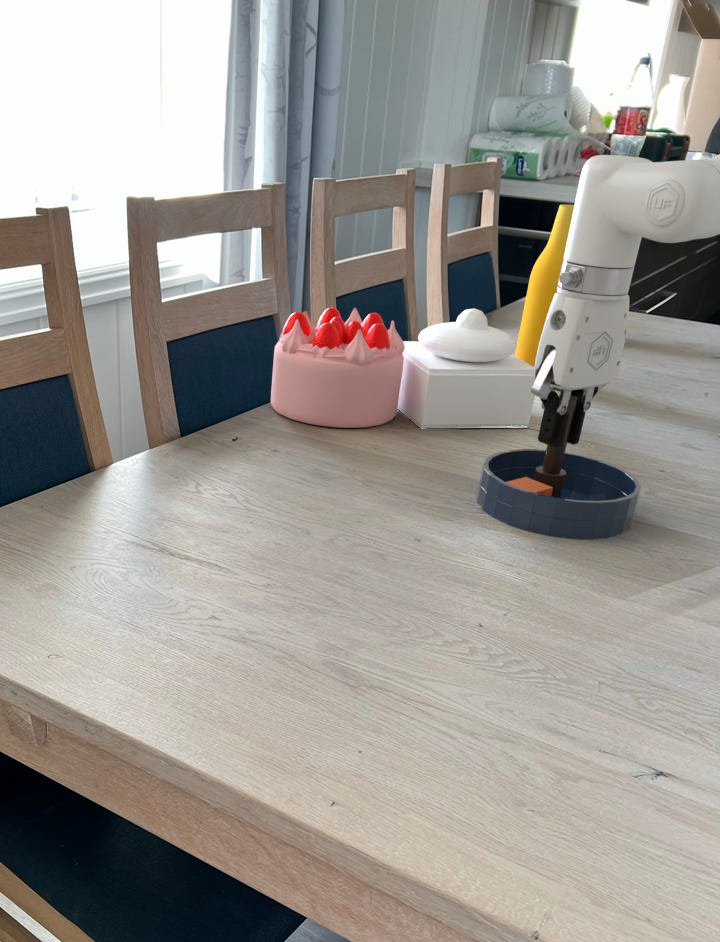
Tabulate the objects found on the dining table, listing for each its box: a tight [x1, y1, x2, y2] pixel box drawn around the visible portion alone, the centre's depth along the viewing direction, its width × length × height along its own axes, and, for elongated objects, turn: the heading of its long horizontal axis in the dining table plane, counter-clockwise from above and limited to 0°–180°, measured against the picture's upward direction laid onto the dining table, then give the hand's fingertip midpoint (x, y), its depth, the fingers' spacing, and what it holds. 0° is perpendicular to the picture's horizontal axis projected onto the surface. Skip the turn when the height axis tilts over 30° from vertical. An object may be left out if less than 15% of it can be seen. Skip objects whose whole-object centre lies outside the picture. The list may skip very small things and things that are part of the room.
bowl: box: [476, 448, 642, 540], centre depth 117 cm, size 18×18×5 cm
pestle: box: [533, 394, 577, 498], centre depth 116 cm, size 4×4×12 cm
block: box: [506, 477, 553, 496], centre depth 114 cm, size 4×4×4 cm
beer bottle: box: [514, 204, 574, 367], centre depth 168 cm, size 9×9×29 cm
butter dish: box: [397, 307, 536, 429], centre depth 151 cm, size 18×18×16 cm
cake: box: [270, 306, 405, 429], centre depth 148 cm, size 20×20×14 cm
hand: (557, 441), depth 116 cm, fingers closed on pestle, 2 cm apart
